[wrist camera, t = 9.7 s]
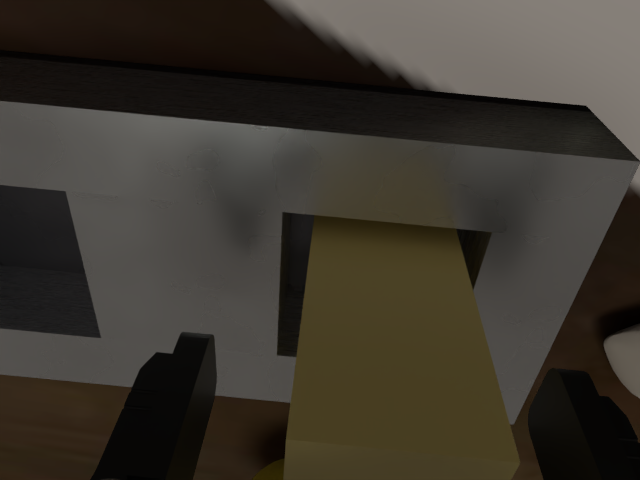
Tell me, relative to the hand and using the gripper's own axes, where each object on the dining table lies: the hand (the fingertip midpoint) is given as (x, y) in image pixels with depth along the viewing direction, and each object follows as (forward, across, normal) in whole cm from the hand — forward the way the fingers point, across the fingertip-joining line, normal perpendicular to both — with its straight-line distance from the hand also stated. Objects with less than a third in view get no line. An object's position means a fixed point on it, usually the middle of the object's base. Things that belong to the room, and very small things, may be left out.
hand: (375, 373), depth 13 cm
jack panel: (+6, +6, 0) cm, 8 cm away
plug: (+6, 0, 0) cm, 6 cm away
